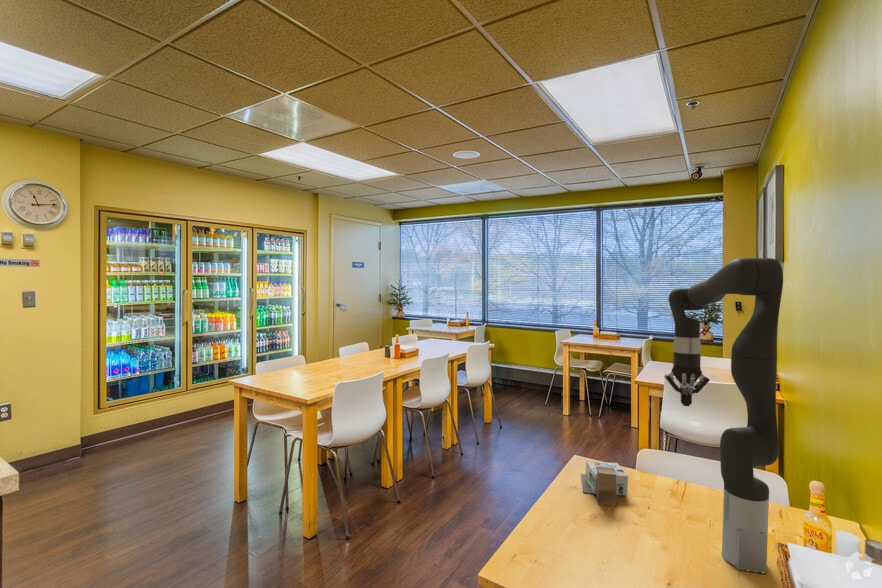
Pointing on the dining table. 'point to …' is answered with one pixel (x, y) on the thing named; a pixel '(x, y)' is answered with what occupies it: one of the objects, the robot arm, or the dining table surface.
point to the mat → (587, 486)
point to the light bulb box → (620, 474)
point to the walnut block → (606, 486)
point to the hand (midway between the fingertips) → (686, 405)
